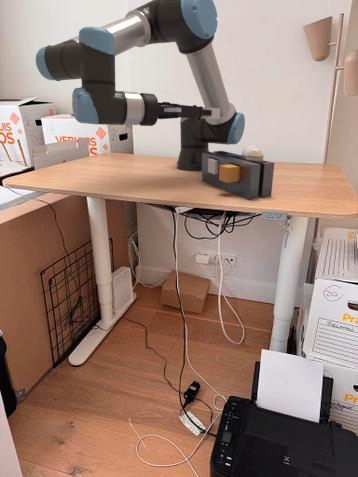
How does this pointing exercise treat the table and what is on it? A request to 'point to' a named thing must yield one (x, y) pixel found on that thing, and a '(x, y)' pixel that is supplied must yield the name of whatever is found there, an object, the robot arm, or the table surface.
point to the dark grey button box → (241, 174)
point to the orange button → (229, 173)
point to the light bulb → (249, 149)
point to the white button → (213, 165)
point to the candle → (256, 155)
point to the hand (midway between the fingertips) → (218, 113)
